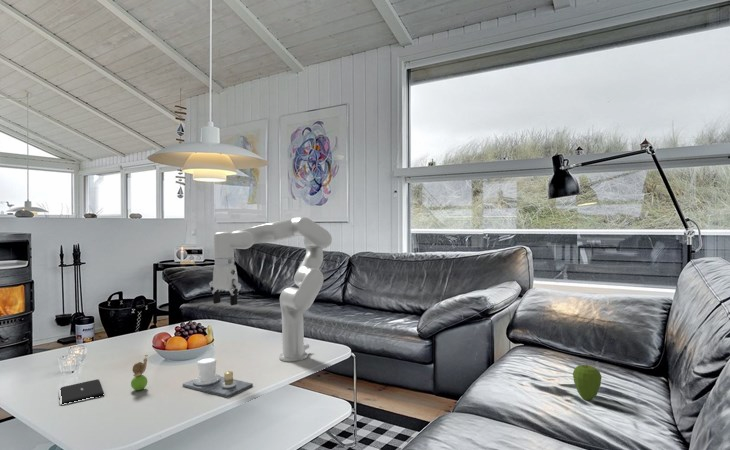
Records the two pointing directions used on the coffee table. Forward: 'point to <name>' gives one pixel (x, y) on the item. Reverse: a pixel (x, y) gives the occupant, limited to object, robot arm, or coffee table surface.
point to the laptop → (81, 391)
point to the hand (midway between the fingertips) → (225, 303)
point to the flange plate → (219, 385)
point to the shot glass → (207, 369)
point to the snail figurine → (139, 375)
